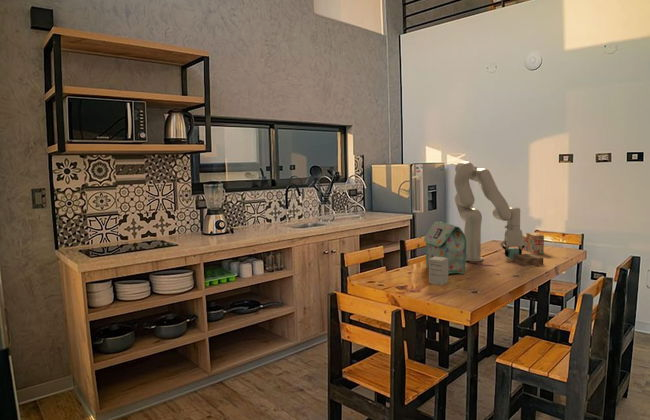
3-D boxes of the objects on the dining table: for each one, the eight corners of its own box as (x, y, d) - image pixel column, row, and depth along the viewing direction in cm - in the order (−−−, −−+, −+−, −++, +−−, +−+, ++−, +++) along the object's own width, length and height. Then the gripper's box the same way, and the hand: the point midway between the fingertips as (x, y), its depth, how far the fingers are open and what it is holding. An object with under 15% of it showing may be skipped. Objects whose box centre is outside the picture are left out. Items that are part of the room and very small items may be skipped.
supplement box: (435, 280, 234) (435, 256, 232) (448, 282, 229) (448, 257, 228) (428, 283, 228) (428, 258, 227) (442, 285, 223) (442, 260, 222)
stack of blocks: (520, 248, 312) (520, 230, 311) (529, 248, 312) (530, 230, 311) (533, 254, 291) (534, 235, 290) (543, 254, 291) (544, 235, 290)
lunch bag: (422, 267, 263) (421, 221, 261) (447, 265, 267) (447, 219, 265) (441, 276, 241) (441, 226, 239) (469, 274, 245) (469, 224, 243)
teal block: (510, 259, 279) (510, 249, 278) (507, 257, 284) (507, 248, 283) (518, 259, 279) (519, 249, 278) (515, 257, 284) (515, 247, 283)
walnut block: (522, 265, 261) (522, 258, 261) (513, 261, 273) (513, 254, 273) (543, 264, 261) (543, 257, 261) (533, 260, 273) (533, 253, 273)
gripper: (501, 228, 276) (501, 258, 277) (530, 228, 276) (530, 257, 277) (496, 227, 283) (496, 255, 285) (525, 226, 283) (524, 254, 285)
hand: (513, 256), depth 281 cm, fingers open, 7 cm apart
